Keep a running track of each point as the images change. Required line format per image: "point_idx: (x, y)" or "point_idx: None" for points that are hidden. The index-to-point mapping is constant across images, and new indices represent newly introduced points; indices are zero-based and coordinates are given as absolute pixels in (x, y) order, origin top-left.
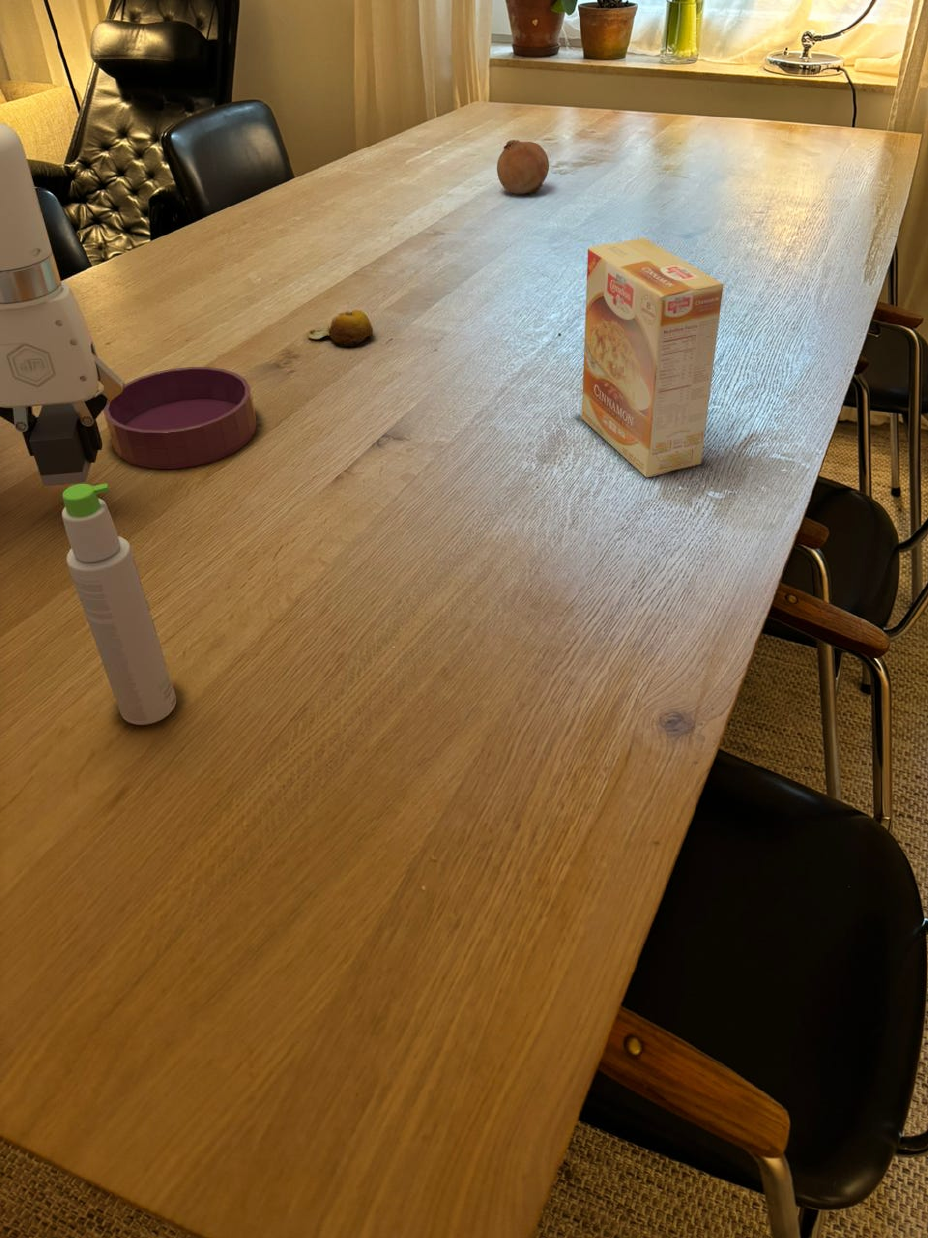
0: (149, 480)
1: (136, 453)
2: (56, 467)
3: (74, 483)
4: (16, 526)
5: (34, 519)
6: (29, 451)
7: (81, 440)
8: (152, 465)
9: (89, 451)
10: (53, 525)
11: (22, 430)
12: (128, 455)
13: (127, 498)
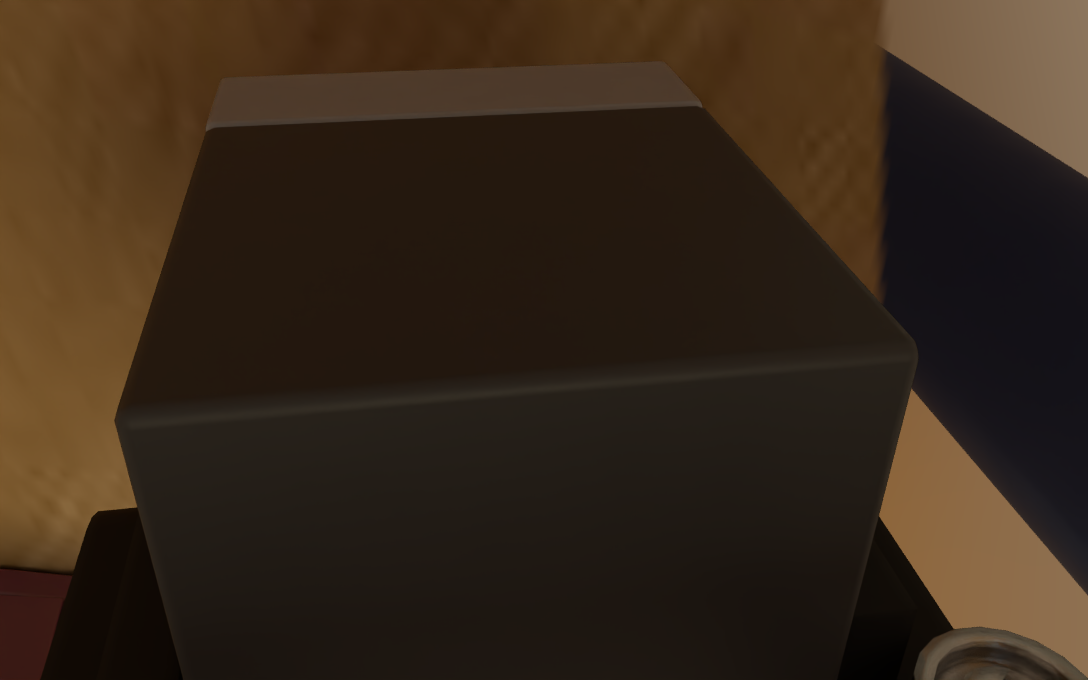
0: (47, 464)
1: None
2: (510, 143)
3: (347, 74)
4: (846, 40)
5: (736, 108)
6: None
7: None
8: (64, 591)
9: None
10: (603, 6)
11: (977, 647)
12: None
13: (133, 279)
